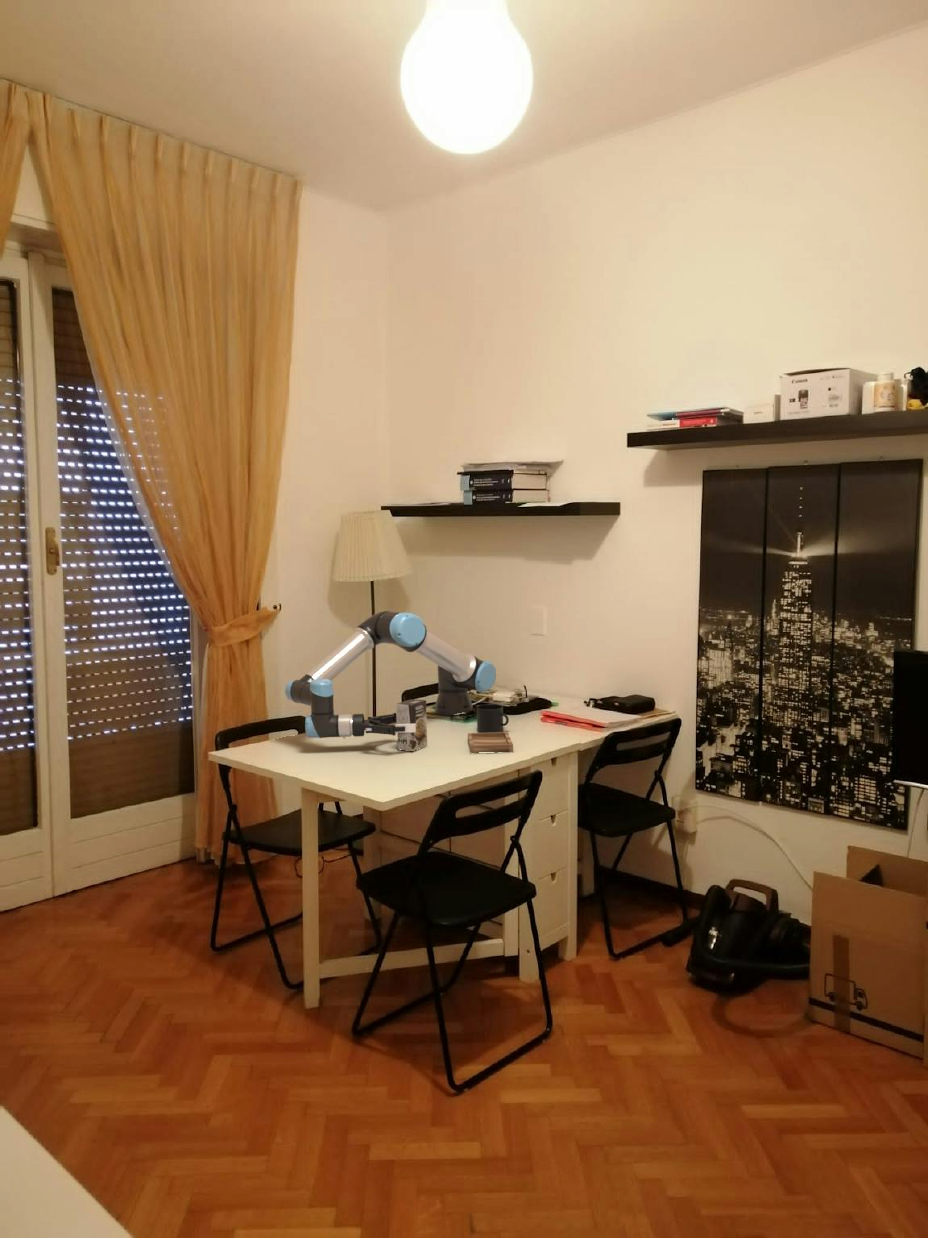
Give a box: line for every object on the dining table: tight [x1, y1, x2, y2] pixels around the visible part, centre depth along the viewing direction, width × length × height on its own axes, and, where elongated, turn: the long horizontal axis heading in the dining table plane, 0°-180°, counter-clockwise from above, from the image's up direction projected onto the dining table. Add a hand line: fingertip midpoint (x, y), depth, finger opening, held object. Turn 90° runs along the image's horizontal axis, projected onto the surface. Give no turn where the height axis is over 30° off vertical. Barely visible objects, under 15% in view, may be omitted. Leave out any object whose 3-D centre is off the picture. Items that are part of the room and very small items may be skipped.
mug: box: [476, 703, 510, 733], centre depth 327 cm, size 9×12×9 cm
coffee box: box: [396, 698, 428, 752], centre depth 306 cm, size 9×6×16 cm
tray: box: [467, 731, 514, 754], centre depth 307 cm, size 18×14×3 cm
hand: (415, 723), depth 305 cm, fingers open, 13 cm apart
